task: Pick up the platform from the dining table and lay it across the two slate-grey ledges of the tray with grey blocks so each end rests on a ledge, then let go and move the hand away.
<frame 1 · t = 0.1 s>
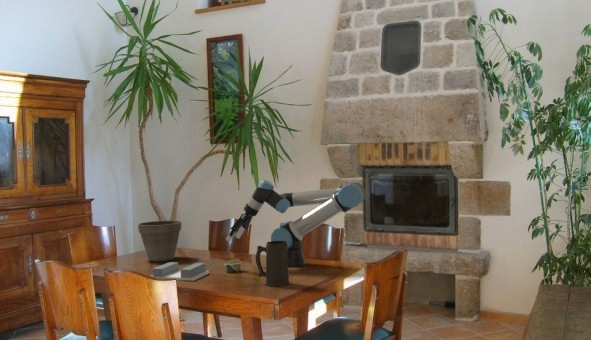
hand: (232, 239, 333), 15 cm above the table, tool tilted 35°, fingers open, 13 cm apart
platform: (234, 272, 322), on the table
tray with grey blocks: (179, 276, 313), on the table
plant pot: (160, 259, 365), on the table
beer stein: (272, 284, 290), on the table
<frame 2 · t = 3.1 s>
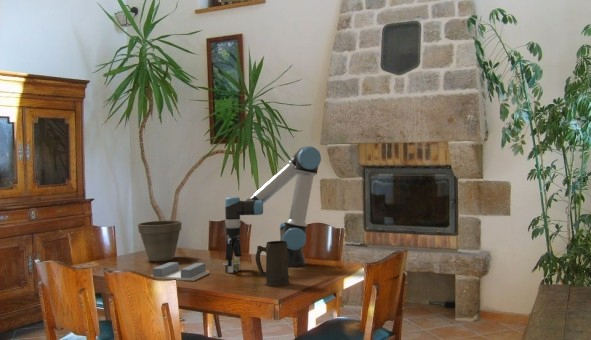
hand: (233, 270, 322), 0 cm above the table, tool pointing down, fingers closed on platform, 9 cm apart
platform: (232, 272, 322), on the table, touching gripper
everything else where it was.
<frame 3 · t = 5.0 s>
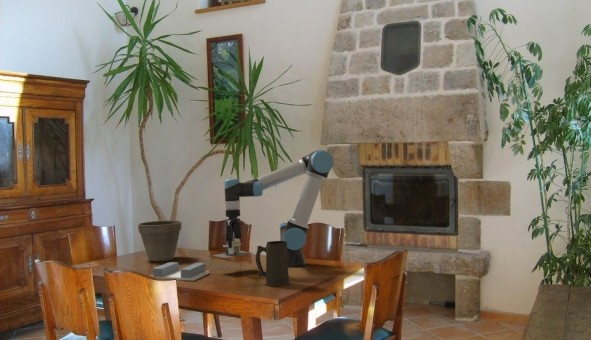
hand: (234, 252, 322), 10 cm above the table, tool pointing down, fingers closed on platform, 8 cm apart
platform: (233, 254, 322), point 9 cm above the table, touching gripper
everything else where it was.
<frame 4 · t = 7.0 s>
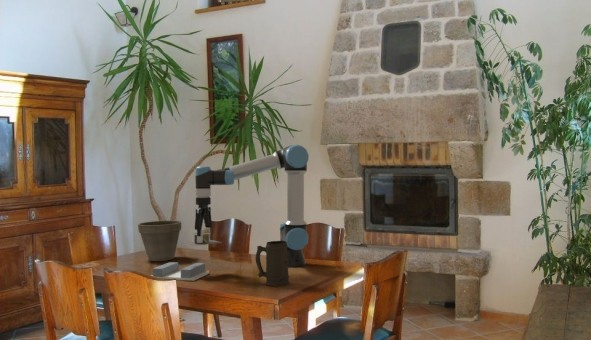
hand: (203, 241, 317), 17 cm above the table, tool pointing down, fingers closed on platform, 8 cm apart
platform: (202, 243, 316), point 16 cm above the table, touching gripper
everything else where it was.
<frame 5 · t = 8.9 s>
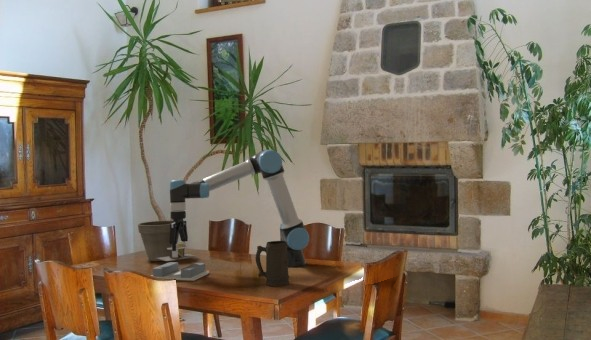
hand: (179, 255, 313), 10 cm above the table, tool pointing down, fingers closed on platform, 8 cm apart
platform: (177, 257, 312), point 9 cm above the table, touching gripper
everything else where it was.
when the fingers open (7 cm above the table, at t = 10.4 s): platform drops 1 cm, resting on tray with grey blocks.
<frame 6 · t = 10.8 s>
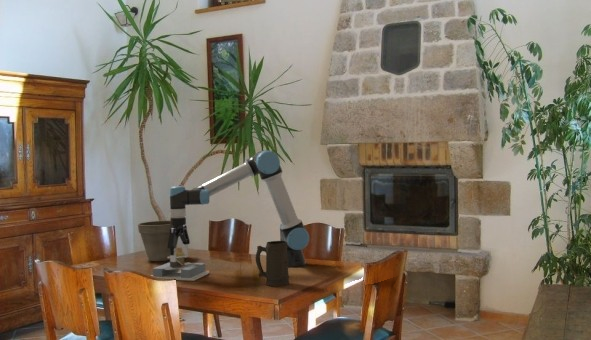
hand: (179, 259, 313), 8 cm above the table, tool pointing down, fingers open, 13 cm apart
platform: (178, 266, 312), point 5 cm above the table, touching tray with grey blocks
everything else where it was.
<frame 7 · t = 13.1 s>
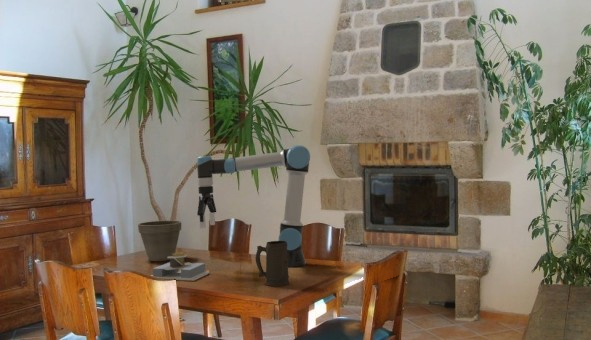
hand: (207, 226, 326), 23 cm above the table, tool pointing down, fingers open, 13 cm apart
nothing on the table moved.
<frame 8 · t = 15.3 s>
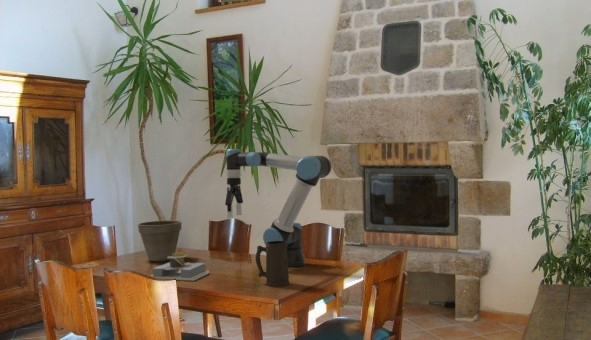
hand: (234, 216, 341), 27 cm above the table, tool pointing down, fingers open, 13 cm apart
nothing on the table moved.
at the end: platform inside the target area on the tray with grey blocks (0.6 cm from its centre), point 5.0 cm above the tray with grey blocks's base; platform tilted 0°; the gripper is holding nothing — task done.
